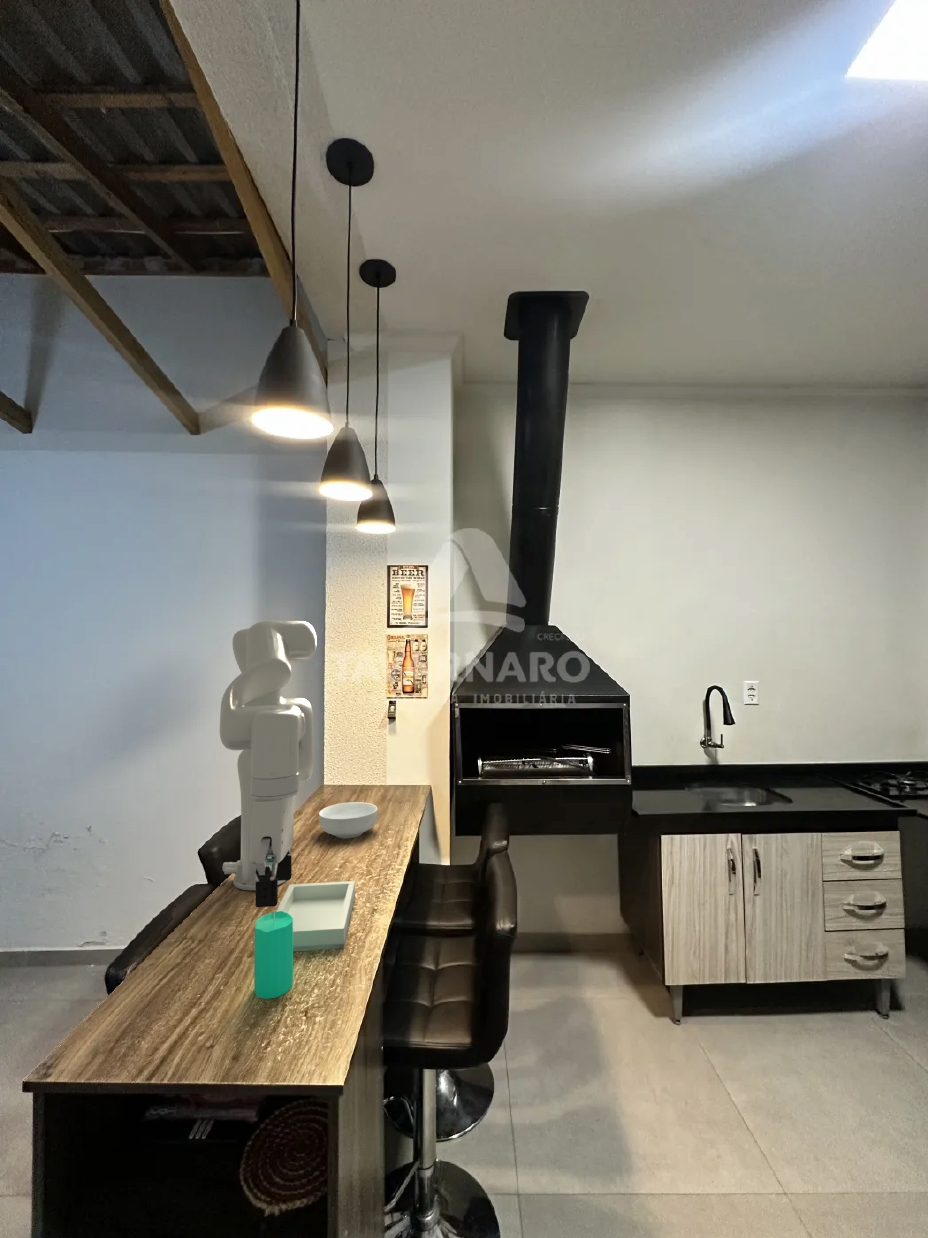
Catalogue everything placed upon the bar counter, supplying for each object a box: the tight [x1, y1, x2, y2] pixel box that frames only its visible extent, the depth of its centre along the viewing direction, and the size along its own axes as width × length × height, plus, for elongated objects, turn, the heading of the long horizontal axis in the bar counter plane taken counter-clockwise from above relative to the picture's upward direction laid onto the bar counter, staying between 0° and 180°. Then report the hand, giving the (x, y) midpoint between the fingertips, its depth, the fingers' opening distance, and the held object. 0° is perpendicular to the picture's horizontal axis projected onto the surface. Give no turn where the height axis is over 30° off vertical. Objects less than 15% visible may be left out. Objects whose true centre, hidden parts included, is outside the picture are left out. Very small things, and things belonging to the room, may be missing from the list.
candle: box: [253, 910, 294, 1000], centre depth 88 cm, size 6×6×12 cm
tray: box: [275, 880, 356, 952], centre depth 108 cm, size 14×20×4 cm
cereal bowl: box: [318, 801, 379, 839], centre depth 159 cm, size 17×17×7 cm
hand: (274, 892), depth 88 cm, fingers open, 9 cm apart
